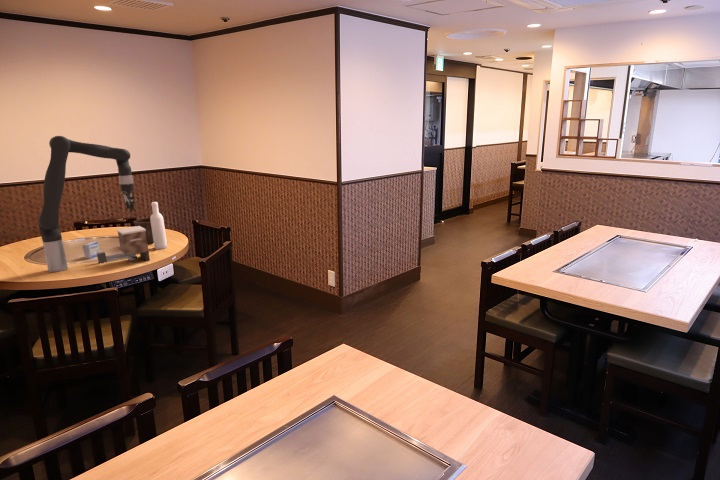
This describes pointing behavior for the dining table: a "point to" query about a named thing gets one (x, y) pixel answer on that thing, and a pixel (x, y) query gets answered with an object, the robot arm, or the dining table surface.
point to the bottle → (158, 228)
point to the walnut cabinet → (134, 241)
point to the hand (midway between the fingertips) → (130, 209)
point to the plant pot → (146, 225)
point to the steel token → (132, 258)
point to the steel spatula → (111, 257)
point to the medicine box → (91, 250)
